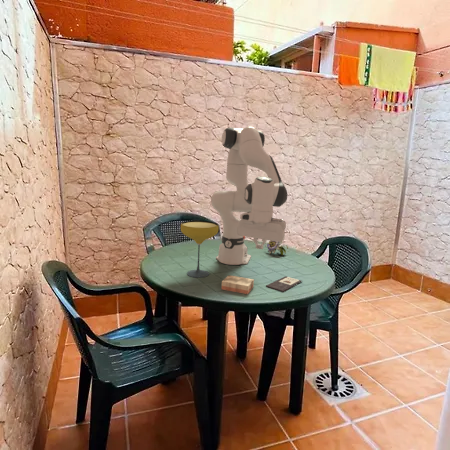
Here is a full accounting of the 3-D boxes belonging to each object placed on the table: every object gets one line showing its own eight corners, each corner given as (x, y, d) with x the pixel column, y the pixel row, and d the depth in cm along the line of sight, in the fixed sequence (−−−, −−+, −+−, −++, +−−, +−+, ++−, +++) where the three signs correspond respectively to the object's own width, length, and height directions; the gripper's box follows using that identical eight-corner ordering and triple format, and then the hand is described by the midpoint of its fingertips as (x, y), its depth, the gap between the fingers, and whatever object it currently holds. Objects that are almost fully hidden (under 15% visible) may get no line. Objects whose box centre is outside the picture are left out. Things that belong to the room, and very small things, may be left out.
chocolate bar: (265, 285, 156) (285, 276, 170) (265, 287, 156) (285, 278, 170) (283, 291, 150) (302, 280, 164) (283, 293, 150) (302, 282, 164)
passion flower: (270, 262, 210) (260, 245, 212) (281, 256, 217) (272, 239, 219) (281, 256, 202) (271, 238, 203) (292, 250, 208) (283, 233, 210)
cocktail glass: (200, 283, 156) (202, 229, 151) (171, 274, 166) (172, 223, 161) (223, 273, 170) (226, 224, 165) (195, 265, 180) (197, 218, 175)
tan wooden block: (253, 287, 155) (228, 283, 159) (253, 279, 154) (228, 275, 158) (247, 295, 146) (221, 290, 150) (248, 286, 146) (221, 281, 149)
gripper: (288, 218, 141) (285, 250, 144) (242, 212, 149) (240, 243, 152) (284, 221, 135) (281, 254, 138) (236, 214, 143) (234, 246, 146)
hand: (259, 248), depth 145 cm, fingers closed
